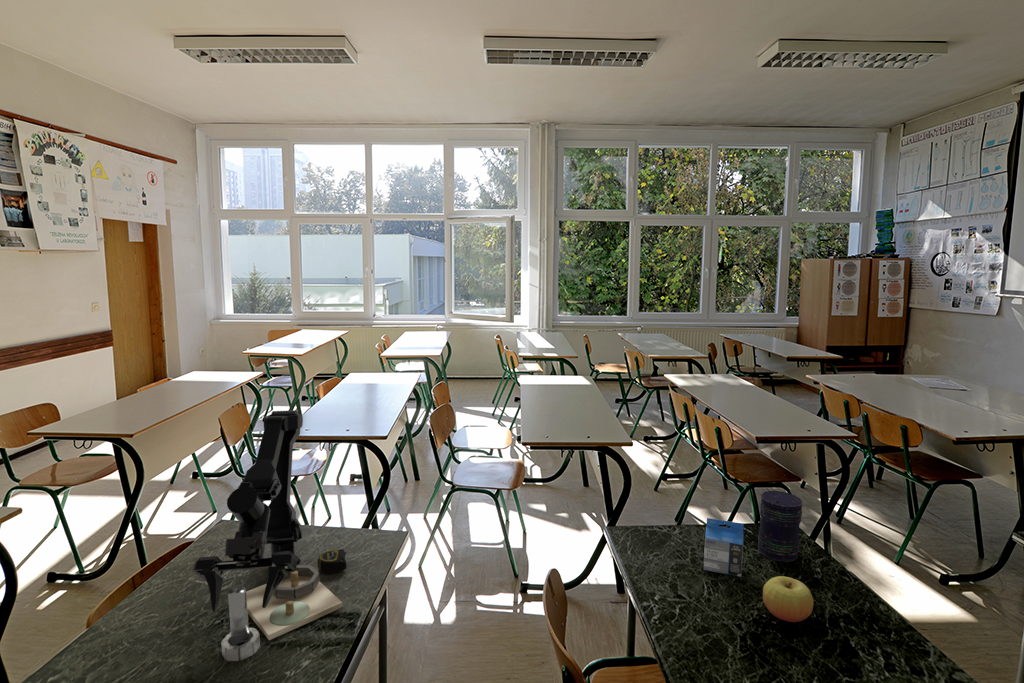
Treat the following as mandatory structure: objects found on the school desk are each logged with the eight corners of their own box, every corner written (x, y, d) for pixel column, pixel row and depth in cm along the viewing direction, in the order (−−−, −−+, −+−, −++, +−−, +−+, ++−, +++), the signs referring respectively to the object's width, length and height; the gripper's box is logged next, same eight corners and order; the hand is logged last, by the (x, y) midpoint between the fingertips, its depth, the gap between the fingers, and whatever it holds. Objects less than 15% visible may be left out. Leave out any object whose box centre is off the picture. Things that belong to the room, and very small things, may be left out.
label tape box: (703, 570, 140) (705, 523, 138) (704, 562, 143) (706, 517, 142) (741, 578, 136) (744, 530, 135) (741, 569, 140) (744, 523, 138)
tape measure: (347, 574, 138) (346, 560, 138) (317, 579, 136) (316, 564, 136) (346, 560, 145) (345, 546, 144) (318, 564, 143) (317, 550, 142)
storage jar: (765, 538, 156) (769, 487, 153) (803, 551, 149) (808, 498, 147) (751, 552, 148) (755, 498, 146) (790, 566, 142) (795, 510, 140)
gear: (218, 649, 111) (214, 591, 110) (252, 634, 116) (248, 578, 114) (229, 665, 107) (224, 605, 105) (263, 650, 111) (259, 591, 109)
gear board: (237, 599, 128) (236, 581, 127) (306, 572, 139) (305, 555, 138) (268, 640, 114) (267, 620, 113) (342, 607, 125) (341, 588, 124)
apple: (791, 634, 116) (794, 599, 115) (751, 609, 124) (754, 575, 123) (821, 620, 120) (824, 586, 119) (781, 596, 129) (783, 564, 128)
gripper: (193, 520, 112) (172, 604, 103) (290, 514, 115) (279, 595, 106) (210, 538, 121) (193, 617, 112) (301, 532, 124) (291, 609, 114)
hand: (239, 609), depth 111 cm, fingers open, 9 cm apart
